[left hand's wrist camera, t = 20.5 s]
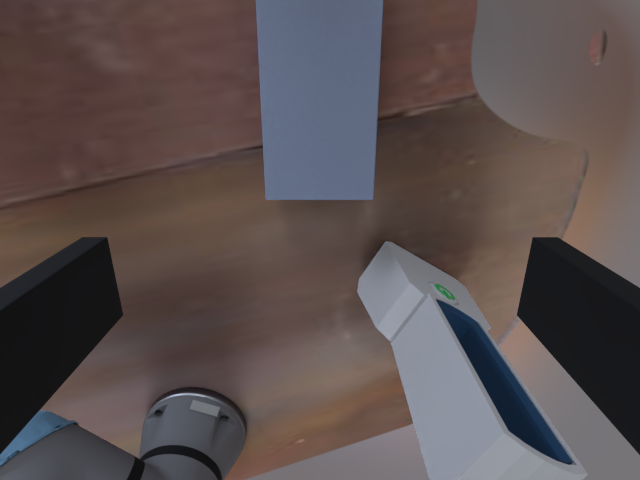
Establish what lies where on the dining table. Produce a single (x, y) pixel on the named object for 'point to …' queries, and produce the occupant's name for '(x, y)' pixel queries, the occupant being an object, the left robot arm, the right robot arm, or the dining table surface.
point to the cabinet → (319, 97)
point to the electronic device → (459, 378)
